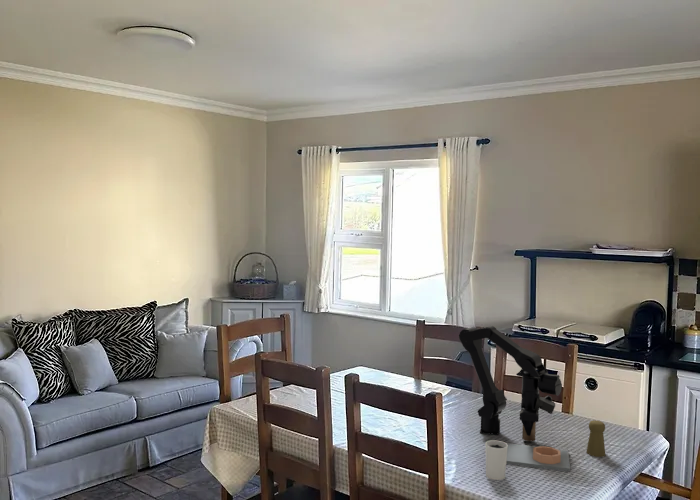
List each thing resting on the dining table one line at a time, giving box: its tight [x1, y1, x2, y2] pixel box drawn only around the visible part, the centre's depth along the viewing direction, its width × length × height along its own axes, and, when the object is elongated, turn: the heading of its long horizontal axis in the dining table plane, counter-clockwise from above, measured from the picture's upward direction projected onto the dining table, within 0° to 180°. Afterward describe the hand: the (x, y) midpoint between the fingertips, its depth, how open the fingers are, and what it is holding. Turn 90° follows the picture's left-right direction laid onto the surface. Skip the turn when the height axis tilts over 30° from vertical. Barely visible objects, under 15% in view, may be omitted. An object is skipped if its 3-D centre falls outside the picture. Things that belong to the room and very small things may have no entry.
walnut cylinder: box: [521, 422, 537, 442], centre depth 223 cm, size 4×4×8 cm
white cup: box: [484, 439, 508, 481], centre depth 194 cm, size 7×7×10 cm
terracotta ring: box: [533, 445, 561, 464], centre depth 206 cm, size 8×8×2 cm
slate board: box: [506, 443, 571, 473], centre depth 209 cm, size 20×16×1 cm
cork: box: [586, 419, 606, 458], centre depth 213 cm, size 6×6×11 cm
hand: (528, 433), depth 224 cm, fingers closed on walnut cylinder, 4 cm apart
